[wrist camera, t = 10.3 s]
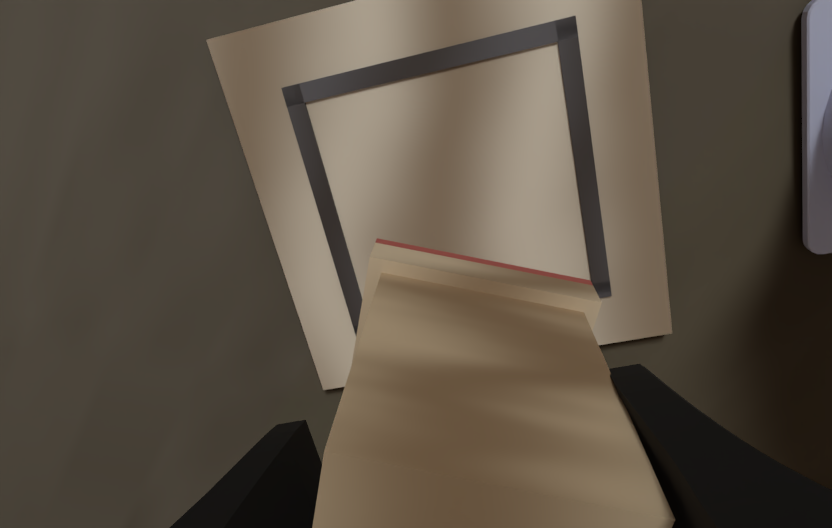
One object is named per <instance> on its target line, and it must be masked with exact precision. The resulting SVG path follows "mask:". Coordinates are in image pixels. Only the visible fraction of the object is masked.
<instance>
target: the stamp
mask: <svg viewBox="0 0 832 528" xmlns="http://www.w3.org/2000/svg"><path fill="white" fill-rule="evenodd" d="M601 304H602V302H601V300H600V298H599V296H598V294H597V292H596V290H595V288H594V286H593V284H592V283H591V281H590V280H586V279H581V278H576V277H571V276H566V275H561V274H556V273H551V272H546V271H541V270H535V269H530V268H525V267H520V266H515V265H510V264H505V263H500V262H495V261H490V260H485V259H480V258H475V257H470V256H465V255H460V254H454V253H449V252H444V251H439V250H434V249H429V248H424V247H419V246H414V245H409V244H404V243H399V242H394V241H389V240H384V239H378V238H377V239H376V242H375V244H374V247H373V249H372V252H371V254H370V258H369V263H368V269H367V275H366V281H365V287H364V293H363V299H362V305H361V311H360V317H359V323H358V329H357V335H356V341H355V347H354V353H353V359H352V365H351V369H350V372H349V375H348V378H347V381H346V385H345V388H344V391H343V394H342V397H341V400H340V403H339V407H338V410H337V413H336V416H335V419H334V422H333V425H332V429H331V432H330V435H329V438H328V441H327V444H326V447H325V450H324V456H323V462H322V469H321V475H320V481H319V488H318V494H317V500H316V507H315V513H314V520H313V526H312V528H672V527H673V524H674V522H675V518H674V515H673V513H672V511H671V509H670V506H669V504H668V502H667V500H666V497H665V495H664V493H663V491H662V488H661V486H660V484H659V481H658V479H657V477H656V475H655V472H654V470H653V468H652V466H651V463H650V461H649V459H648V456H647V454H646V452H645V450H644V447H643V445H642V443H641V441H640V438H639V436H638V434H637V431H636V429H635V427H634V425H633V422H632V420H631V418H630V416H629V413H628V411H627V409H626V407H625V406H624V404H623V402H622V400H621V399H620V397H619V395H618V393H617V390H616V388H615V386H614V384H613V381H612V379H611V377H610V374H611V372H610V370H609V368H608V366H607V363H606V361H605V359H604V357H603V354H602V352H601V350H600V348H599V345H598V343H597V341H596V338H595V336H594V334H593V332H592V331H593V328H594V325H595V322H596V319H597V316H598V313H599V310H600V307H601Z"/></svg>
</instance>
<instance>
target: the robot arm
mask: <svg viewBox="0 0 832 528" xmlns="http://www.w3.org/2000/svg"><path fill="white" fill-rule="evenodd" d="M801 49H802V206H803V243H804V246H805V247H806V248H807V249H808V250H810V251H811V252H813V253H816V254H828V253H832V0H812V1H811V2H809V3H808V4H807V5H806V7H805V9H804V10H803V13H802V18H801ZM609 370H610V372H611V374H610V377H611V379H612V381H613V384H614V386H615V388H616V390H617V393H618V395H619V397H620V399H621V400H622V402H623V404H624V406H625V407H626V409H627V411H628V413H629V416H630V418H631V420H632V422H633V425H634V427H635V429H636V431H637V434H638V436H639V438H640V441H641V443H642V445H643V447H644V450H645V452H646V454H647V456H648V459H649V461H650V463H651V466H652V468H653V470H654V472H655V475H656V477H657V479H658V481H659V484H660V486H661V488H662V491H663V493H664V495H665V497H666V500H667V502H668V504H669V506H670V509H671V511H672V513H673V515H674V518H675V522H674V524H673V527H672V528H832V490H830V489H828V488H826V487H824V486H822V485H820V484H818V483H816V482H814V481H812V480H810V479H809V478H807V477H805V476H803V475H801V474H799V473H797V472H795V471H793V470H792V469H790V468H788V467H786V466H784V465H782V464H780V463H779V462H777V461H775V460H774V459H772V458H770V457H768V456H767V455H765V454H763V453H762V452H760V451H758V450H757V449H755V448H754V447H752V446H750V445H749V444H747V443H746V442H744V441H743V440H741V439H739V438H738V437H736V436H735V435H734V434H732V433H731V432H729V431H728V430H726V429H725V428H723V427H722V426H720V425H719V424H718V423H716V422H715V421H713V420H712V419H711V418H709V417H708V416H706V415H705V414H704V413H702V412H701V411H699V410H698V409H697V408H695V407H694V406H693V405H691V404H690V403H689V402H687V401H686V400H685V399H684V398H682V397H681V396H680V395H678V394H677V393H676V392H675V391H673V390H672V389H671V388H670V387H668V386H667V385H666V384H665V383H663V382H662V381H661V380H660V379H658V378H657V377H656V376H655V375H654V374H652V373H651V372H650V371H649V370H648V369H646V368H645V367H643V366H642V365H641V364H636V365H630V366H624V367H618V368H612V369H609ZM321 469H322V464H321V461H320V458H319V455H318V453H317V450H316V447H315V444H314V442H313V439H312V436H311V433H310V431H309V428H308V425H307V422H306V420H302V421H296V422H290V423H284V424H278V425H276V426H275V427H274V428H273V429H272V430H270V431H269V432H268V433H267V434H266V435H265V436H264V437H263V438H262V439H261V440H260V441H259V442H258V443H257V444H256V445H255V446H254V447H253V448H252V449H251V450H250V451H249V452H248V453H247V454H246V455H245V456H244V457H243V458H242V459H241V460H240V461H239V462H238V463H237V464H236V465H235V466H234V467H233V468H232V469H231V470H230V471H229V472H228V473H227V474H226V475H225V476H224V477H223V478H222V479H221V480H220V481H219V482H218V483H217V484H216V485H215V486H214V487H213V488H212V489H211V490H210V491H209V492H208V493H206V494H205V495H204V496H203V497H202V498H201V499H200V500H199V501H198V502H197V503H196V504H195V505H194V506H193V507H191V508H190V509H189V510H188V511H187V512H186V513H185V514H184V515H183V516H182V517H181V518H180V519H178V520H177V521H176V522H175V523H174V524H173V525H172V526H171V527H170V528H312V526H313V520H314V513H315V507H316V500H317V494H318V488H319V481H320V475H321Z"/></svg>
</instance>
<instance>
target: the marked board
mask: <svg viewBox="0 0 832 528" xmlns="http://www.w3.org/2000/svg"><path fill="white" fill-rule="evenodd" d="M206 41H207V44H208V47H209V50H210V53H211V55H212V58H213V61H214V64H215V67H216V70H217V73H218V76H219V79H220V82H221V85H222V88H223V91H224V94H225V97H226V100H227V103H228V106H229V109H230V112H231V115H232V118H233V121H234V124H235V127H236V130H237V133H238V136H239V139H240V142H241V145H242V148H243V151H244V154H245V157H246V160H247V163H248V166H249V169H250V172H251V175H252V178H253V181H254V184H255V187H256V190H257V193H258V196H259V199H260V202H261V205H262V208H263V211H264V214H265V217H266V220H267V223H268V226H269V229H270V232H271V235H272V238H273V241H274V244H275V247H276V250H277V253H278V256H279V259H280V262H281V265H282V268H283V271H284V274H285V277H286V280H287V283H288V286H289V289H290V292H291V295H292V297H293V300H294V303H295V306H296V309H297V312H298V315H299V318H300V321H301V324H302V327H303V330H304V333H305V336H306V339H307V342H308V345H309V348H310V351H311V354H312V357H313V360H314V363H315V366H316V369H317V372H318V375H319V378H320V381H321V384H322V387H323V390H328V389H334V388H340V387H345V385H346V381H347V378H348V375H349V372H350V369H351V365H352V359H353V353H354V347H355V341H356V335H357V329H358V323H359V317H360V311H361V305H362V299H363V293H364V287H365V281H366V275H367V269H368V263H369V258H370V254H371V252H372V249H373V247H374V244H375V242H376V239H377V238H378V239H384V240H389V241H394V242H399V243H404V244H409V245H414V246H419V247H424V248H429V249H434V250H439V251H444V252H449V253H454V254H460V255H465V256H470V257H475V258H480V259H485V260H490V261H495V262H500V263H505V264H510V265H515V266H520V267H525V268H530V269H535V270H541V271H546V272H551V273H556V274H561V275H566V276H571V277H576V278H581V279H586V280H590V281H591V283H592V284H593V286H594V288H595V290H596V292H597V294H598V296H599V298H600V300H601V302H602V304H601V307H600V310H599V313H598V316H597V319H596V322H595V325H594V328H593V331H592V332H593V334H594V336H595V338H596V341H597V343H598V345H604V344H610V343H616V342H622V341H629V340H635V339H641V338H647V337H653V336H659V335H665V334H672V325H671V314H670V303H669V293H668V282H667V271H666V260H665V249H664V239H663V228H662V217H661V206H660V195H659V185H658V174H657V163H656V152H655V141H654V131H653V120H652V109H651V98H650V88H649V77H648V66H647V55H646V44H645V34H644V23H643V12H642V1H641V0H356V1H352V2H348V3H344V4H340V5H337V6H333V7H329V8H325V9H321V10H318V11H314V12H310V13H306V14H303V15H299V16H295V17H291V18H287V19H284V20H280V21H276V22H272V23H268V24H265V25H261V26H257V27H253V28H250V29H246V30H242V31H238V32H234V33H231V34H227V35H223V36H219V37H215V38H212V39H208V40H206Z"/></svg>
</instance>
